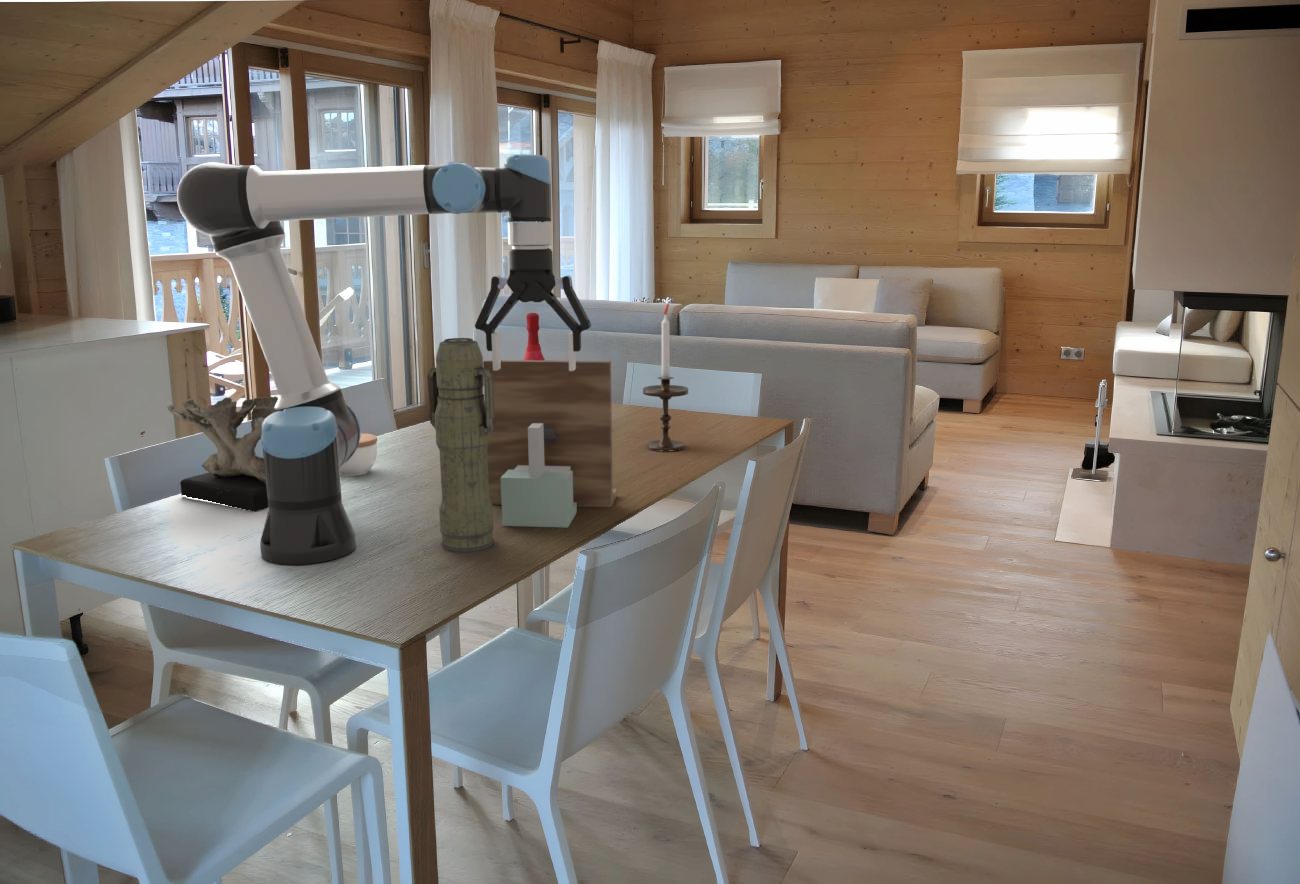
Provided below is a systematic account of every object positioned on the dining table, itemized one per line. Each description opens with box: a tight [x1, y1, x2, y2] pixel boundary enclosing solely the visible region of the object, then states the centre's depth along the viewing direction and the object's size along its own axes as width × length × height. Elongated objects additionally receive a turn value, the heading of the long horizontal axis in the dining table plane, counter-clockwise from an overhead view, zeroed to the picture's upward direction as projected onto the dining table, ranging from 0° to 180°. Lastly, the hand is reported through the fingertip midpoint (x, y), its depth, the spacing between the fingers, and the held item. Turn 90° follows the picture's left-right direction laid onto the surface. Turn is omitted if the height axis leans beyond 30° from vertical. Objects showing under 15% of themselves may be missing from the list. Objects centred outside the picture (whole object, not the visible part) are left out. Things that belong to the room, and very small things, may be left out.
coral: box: [166, 395, 279, 513], centre depth 197 cm, size 25×20×22 cm
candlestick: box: [642, 301, 689, 451], centre depth 240 cm, size 11×11×35 cm
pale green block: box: [501, 423, 578, 528], centre depth 185 cm, size 9×12×18 cm
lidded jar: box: [339, 432, 378, 477], centre depth 220 cm, size 11×11×9 cm
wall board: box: [483, 359, 618, 508], centre depth 194 cm, size 11×24×28 cm, turn 84°
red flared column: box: [522, 312, 546, 360], centre depth 267 cm, size 10×10×30 cm
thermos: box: [426, 337, 495, 553], centre depth 169 cm, size 9×12×35 cm
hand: (534, 370), depth 179 cm, fingers open, 13 cm apart
